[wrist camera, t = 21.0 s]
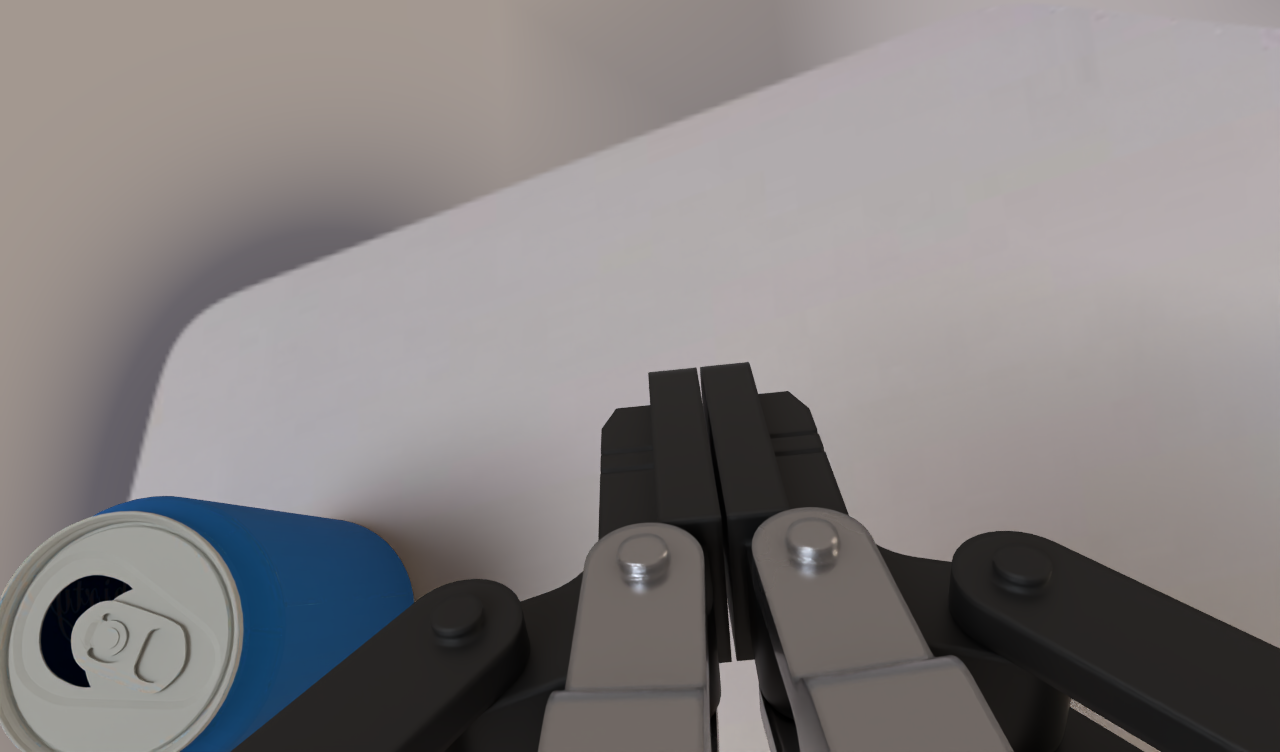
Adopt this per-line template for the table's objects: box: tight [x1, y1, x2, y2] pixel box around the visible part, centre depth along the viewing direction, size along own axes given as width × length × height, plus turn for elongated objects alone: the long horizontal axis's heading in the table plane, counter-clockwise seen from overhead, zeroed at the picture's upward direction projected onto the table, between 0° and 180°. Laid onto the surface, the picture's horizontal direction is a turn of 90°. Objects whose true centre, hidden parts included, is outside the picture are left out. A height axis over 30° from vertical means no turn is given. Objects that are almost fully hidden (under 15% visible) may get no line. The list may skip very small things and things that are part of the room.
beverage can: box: [0, 496, 414, 752], centre depth 25 cm, size 6×6×12 cm
